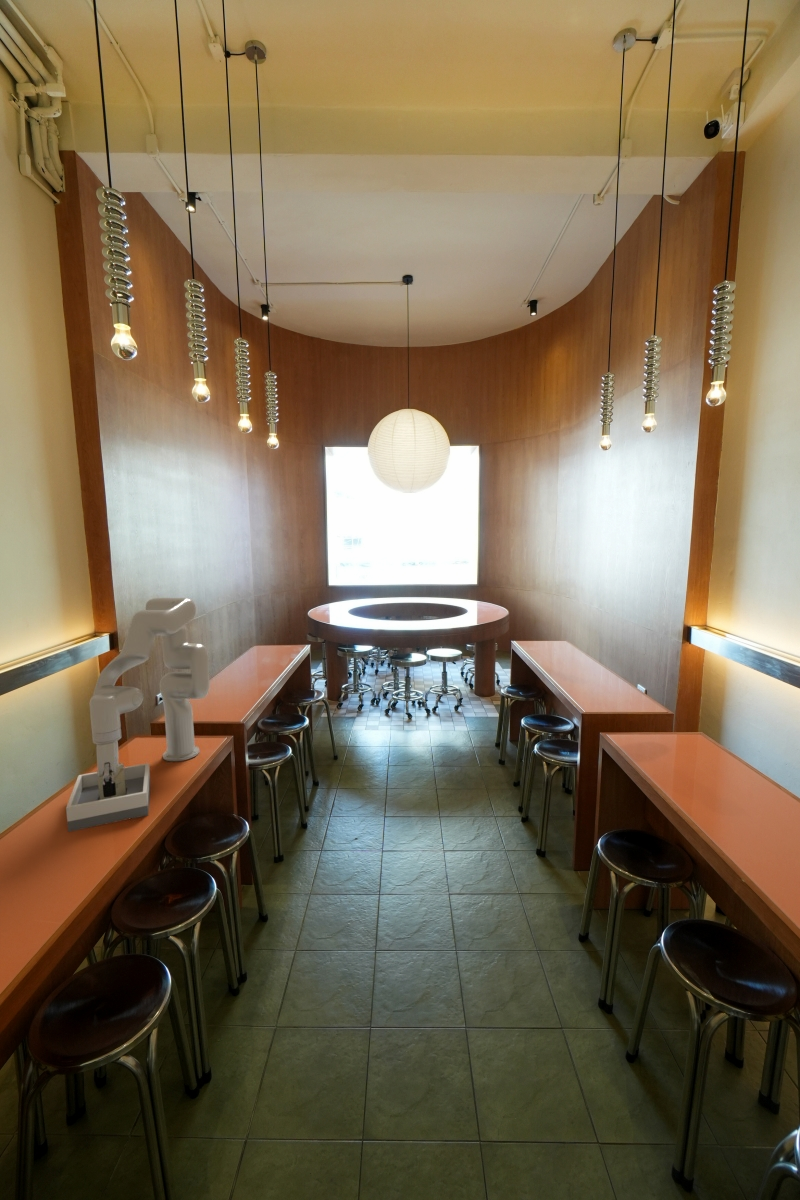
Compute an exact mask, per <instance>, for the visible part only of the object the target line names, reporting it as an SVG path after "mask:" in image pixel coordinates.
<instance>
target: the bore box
mask: <svg viewBox="0 0 800 1200" xmlns="http://www.w3.org/2000/svg"><path fill="white" fill-rule="evenodd" d="M124 777H125V788H126V795H124V796H119V797H113V798H108V799H103V800H100V798H99V787H98V776H97V771H95V772H90V773H84V774H78V775H77V779H76V781H75V783H74V787H73V789H72V790H71V791H72V792H71V794H70V797H69V800H68V802H67V805H66V807H65V810H66V811H65V812H66V819H67V822H66V823H67V829H68V830H67V832H69V833H70V832H74V831H80V830H84V829H88V827H89V828H93V827H92V826H94V827H98V826H97V825H99V826H103V825H102V824H104V825H106V823H108V824H112V823H111V822H113V823H116V822H115V821H118V822H121V821H120V820H123V821H126V820H125V819H128V820H130V819H129V818H132V819H137V818H141V817H147V816H149V809H150V796H151V795H150V794H151V773H150V763H149V762H147V763H141V764H136V765H130V766H124ZM83 828H84V829H83ZM79 829H80V830H79Z"/></svg>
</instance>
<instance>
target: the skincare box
mask: <svg viewBox="0 0 800 1200" xmlns="http://www.w3.org/2000/svg"><path fill="white" fill-rule="evenodd" d="M124 767H125V766H124V763H119V762H118V768H117V772H116V774H114V782H115V785H116V795H115V796H110V797H104V795H103V775H102V776H101V777H98V787H99V798H100V800H103V799H108V798H113V797H119V796H124V795H126V788H125V777H124ZM96 772H97V776H98V770H97V771H96ZM109 773H111V772H109ZM110 777H111V778H112V776H110Z"/></svg>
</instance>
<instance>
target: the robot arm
mask: <svg viewBox="0 0 800 1200" xmlns="http://www.w3.org/2000/svg"><path fill="white" fill-rule="evenodd" d="M196 612H197V607H196V604H195V602H194V601H193V600H192V599H190V598H186V597H156V598H155V597H154V598H152V599H149V600H147V601H146V603H145V609H143V610H139V611H137V612H135V613H134V615H133V616H132V619H131V621H130V625H129V626H128V627H129V628H128V630H127V634H126V637H125V638H124V639H125V640H124V642H123V646H122V649H121V651H120V653H119V654H118V655H116V657H114V658H113V659H112V660H111V661H110V662H109V663H107V665H106V666H105V667H104V668H103V669H102V670H101V672H100V673H99V676H98V677H97V680H96V684H95V687H94V689H93V693H92V696H91V697H90V699H89V714H90V715H89V717H90V725H91V726H90V727H91V735H92V737H91V738H92V743H93V744H94V745H96V766H97V767H96V769H97V771H98V777H101V776H102V775H103V795H104V797H110V796H115V795H116V785H115V782H114V774H116V772H117V768H118V763H119V759H120V758H119V757H120V756H119V743H118V741H119V740H121V739H122V729H121V728H122V727H121V726H122V725H121V715H122V714H125V713H129V712H132V711H134V710H136V709H138V708H139V707H140V706H141V705H142V703H143V701H144V694H143V692H142V690H141V689H140V688H138V687H135V686H126V685H125V686H121V685H116V682H117V681H118V679H119V678H120V677H121V675H123V674H124V673H125V672H127V671H129V670H131V668H134V667H136V666H139V665H141V664H143V663H145V662H147V661H148V660H149V659H150V657H151V654H152V649H153V647H154V643H155V640H156V637H157V636H161V638H162V639H161V643H162V644H161V645H162V661H163V664H164V666H165V667H166V668H167V669H170V670H171V669H172V670H190V672H188V671H185V672H184V671H173V672H168V673H166V674H164V675H163V676H162V677H161V679H160V681H159V687H158V688H159V691H160V696H161V697H162V698H161V699H162V702H163V710H164V723H165V724H164V725H165V726H164V727H165V737H166V739H165V740H166V750H165V751H164V752H163V754H162V758H163V760H165V761H168V762H182V761H186V760H189V759H192V758H194V757H196V756H197V755H199V753H200V748H199V746H197V745H195V730H194V729H195V728H194V715H193V706H192V704H191V702H190V699H191V700H202V699H203V698H206V697H207V696H208V693H209V691H210V686H211V685H210V684H211V681H210V679H211V678H210V677H211V676H210V657H209V652H208V649H207V647H206V646H205V645H204V644H202V643H191V642H189V641H188V630H187V626H186V625H187V624H189V623H191V621H192V620H193V619H194V618H195V615H196ZM109 772H111V773H109ZM110 776H112V778H111V777H110Z"/></svg>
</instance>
